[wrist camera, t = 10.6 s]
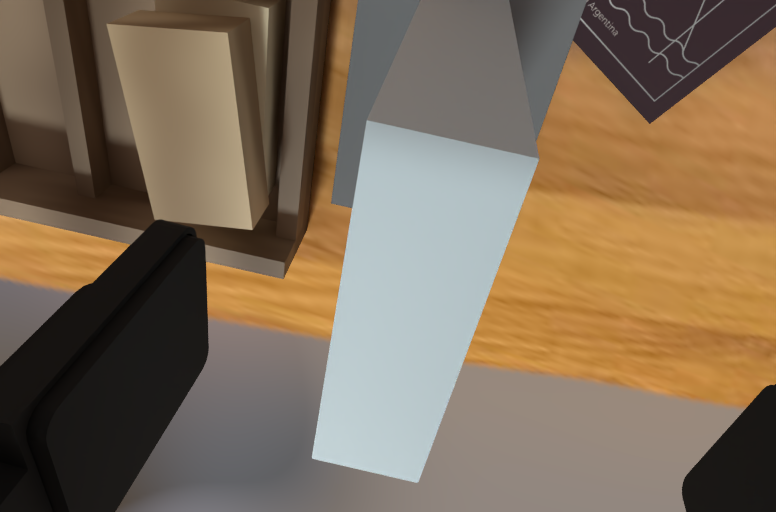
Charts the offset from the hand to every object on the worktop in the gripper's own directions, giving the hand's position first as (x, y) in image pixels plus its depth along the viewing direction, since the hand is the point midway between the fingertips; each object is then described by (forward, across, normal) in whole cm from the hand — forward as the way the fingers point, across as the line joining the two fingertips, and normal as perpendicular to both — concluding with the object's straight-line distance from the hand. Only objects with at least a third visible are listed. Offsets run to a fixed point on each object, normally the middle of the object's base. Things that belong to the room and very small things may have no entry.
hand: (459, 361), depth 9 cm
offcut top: (+10, +9, +2) cm, 13 cm away
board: (+12, +2, 0) cm, 12 cm away
